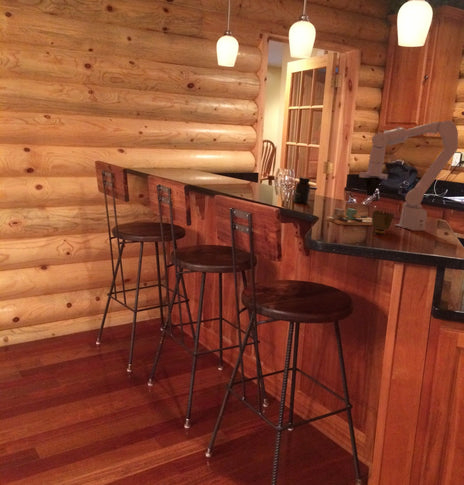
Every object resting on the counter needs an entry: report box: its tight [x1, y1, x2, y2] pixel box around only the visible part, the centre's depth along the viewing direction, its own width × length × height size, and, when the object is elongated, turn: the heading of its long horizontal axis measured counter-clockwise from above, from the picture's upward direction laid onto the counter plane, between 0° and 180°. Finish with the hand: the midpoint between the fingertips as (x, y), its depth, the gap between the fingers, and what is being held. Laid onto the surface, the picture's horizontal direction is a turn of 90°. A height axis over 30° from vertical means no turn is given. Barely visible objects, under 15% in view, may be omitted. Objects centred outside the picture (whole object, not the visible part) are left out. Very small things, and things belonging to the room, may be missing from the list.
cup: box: [371, 210, 395, 236], centre depth 188 cm, size 8×7×8 cm
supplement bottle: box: [293, 176, 312, 205], centre depth 244 cm, size 7×7×12 cm
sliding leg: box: [345, 208, 361, 220], centre depth 204 cm, size 6×2×4 cm, turn 32°
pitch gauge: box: [324, 207, 373, 226], centre depth 207 cm, size 10×24×5 cm, turn 122°
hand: (370, 195), depth 214 cm, fingers closed
